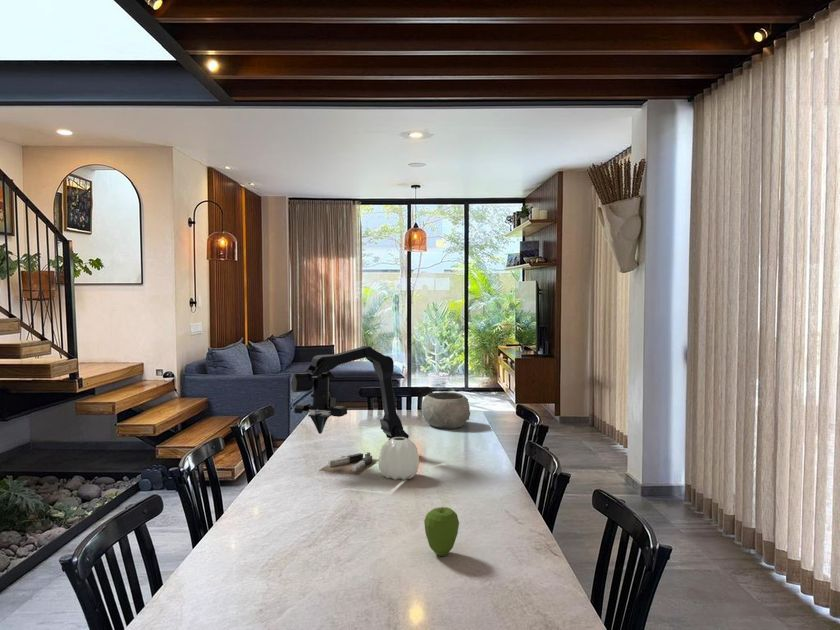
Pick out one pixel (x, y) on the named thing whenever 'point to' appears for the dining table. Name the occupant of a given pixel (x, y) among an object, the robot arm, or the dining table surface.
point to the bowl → (446, 409)
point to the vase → (399, 459)
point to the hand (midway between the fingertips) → (320, 433)
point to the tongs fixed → (362, 463)
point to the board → (347, 467)
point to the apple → (441, 529)
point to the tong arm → (345, 460)
